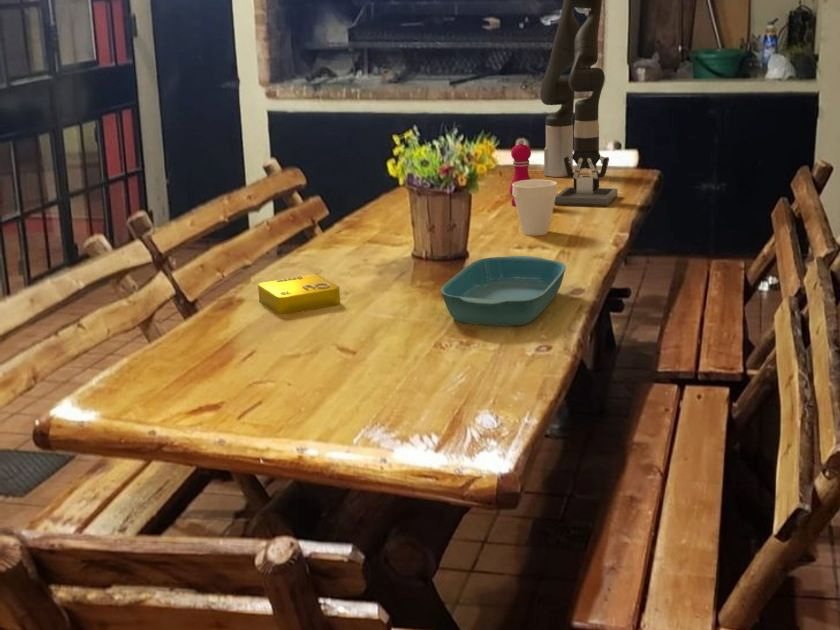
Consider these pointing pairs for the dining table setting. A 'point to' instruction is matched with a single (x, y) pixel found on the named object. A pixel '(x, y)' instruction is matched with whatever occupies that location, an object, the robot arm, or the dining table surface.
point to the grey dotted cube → (585, 184)
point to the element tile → (299, 294)
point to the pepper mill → (520, 164)
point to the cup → (534, 204)
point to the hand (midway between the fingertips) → (586, 190)
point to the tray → (586, 197)
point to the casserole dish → (503, 290)
